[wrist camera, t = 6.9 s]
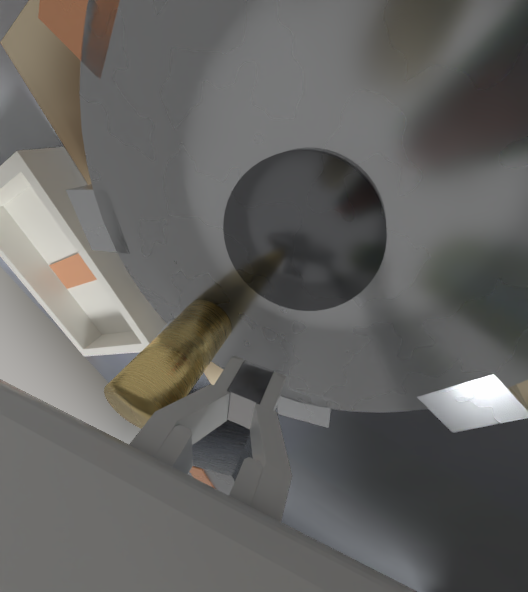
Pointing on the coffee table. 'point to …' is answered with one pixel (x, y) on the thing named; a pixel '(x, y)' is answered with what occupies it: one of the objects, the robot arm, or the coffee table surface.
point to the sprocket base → (66, 95)
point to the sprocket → (314, 196)
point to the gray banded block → (221, 455)
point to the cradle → (68, 258)
